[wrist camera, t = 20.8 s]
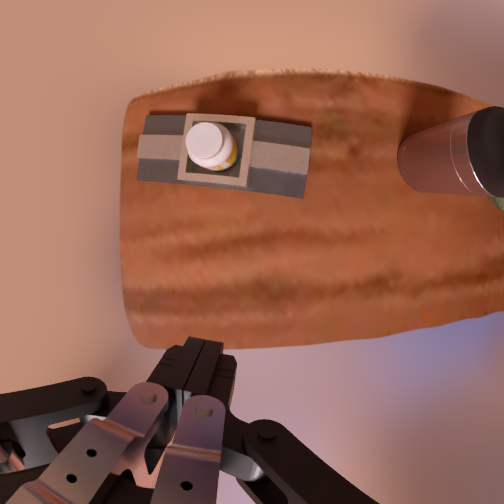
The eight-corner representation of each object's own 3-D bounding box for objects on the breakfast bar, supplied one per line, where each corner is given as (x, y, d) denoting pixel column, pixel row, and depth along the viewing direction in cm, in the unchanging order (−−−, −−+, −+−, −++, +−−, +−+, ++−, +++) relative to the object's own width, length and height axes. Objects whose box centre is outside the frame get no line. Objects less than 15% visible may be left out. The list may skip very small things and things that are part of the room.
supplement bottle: (213, 179, 37) (194, 175, 28) (193, 148, 37) (169, 135, 27) (247, 157, 36) (238, 146, 27) (226, 126, 36) (211, 106, 26)
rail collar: (311, 129, 36) (315, 122, 32) (302, 198, 38) (305, 198, 34) (149, 116, 37) (137, 110, 33) (139, 180, 39) (127, 179, 35)
